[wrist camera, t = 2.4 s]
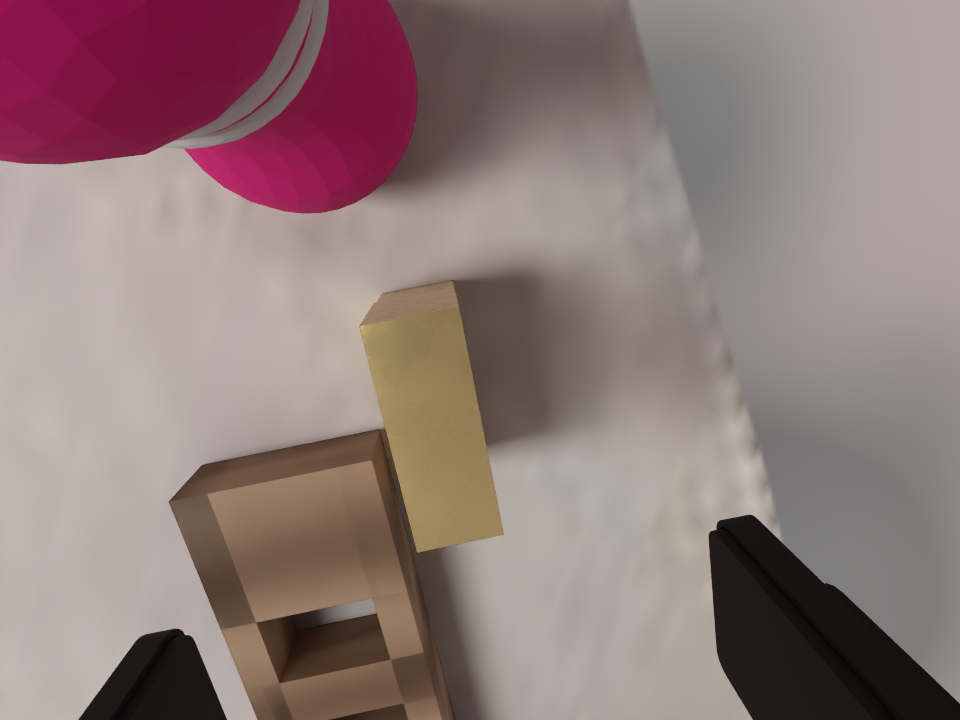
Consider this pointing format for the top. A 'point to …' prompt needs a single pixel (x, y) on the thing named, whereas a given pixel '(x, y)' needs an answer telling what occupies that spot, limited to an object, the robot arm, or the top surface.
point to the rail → (314, 581)
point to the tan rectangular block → (432, 415)
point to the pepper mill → (214, 90)
